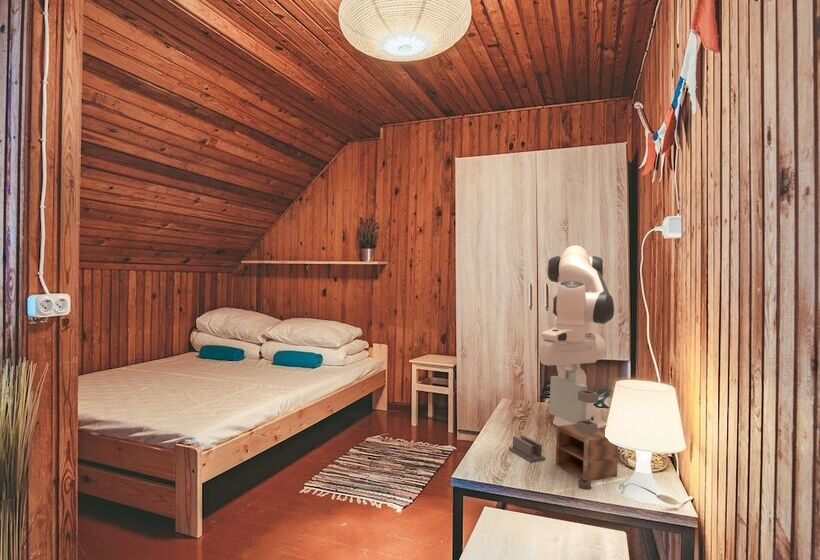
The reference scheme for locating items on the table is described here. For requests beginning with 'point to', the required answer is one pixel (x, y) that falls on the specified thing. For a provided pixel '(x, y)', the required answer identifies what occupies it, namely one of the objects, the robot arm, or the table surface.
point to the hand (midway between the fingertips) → (568, 378)
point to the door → (572, 401)
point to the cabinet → (586, 454)
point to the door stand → (527, 449)
